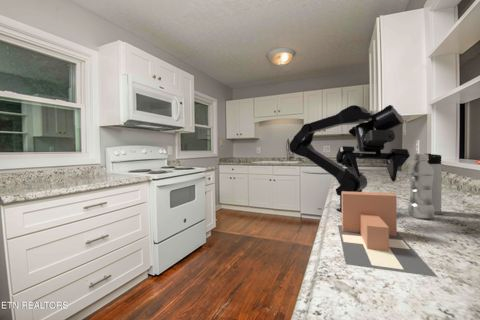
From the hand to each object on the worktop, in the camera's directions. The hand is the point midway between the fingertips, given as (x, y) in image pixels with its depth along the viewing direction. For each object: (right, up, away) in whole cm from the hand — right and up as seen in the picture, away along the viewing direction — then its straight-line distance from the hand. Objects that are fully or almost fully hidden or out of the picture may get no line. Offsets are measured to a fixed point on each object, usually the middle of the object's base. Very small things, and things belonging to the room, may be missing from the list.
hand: (376, 179), depth 63 cm
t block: (-7, -13, -9) cm, 17 cm away
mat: (-8, -14, -12) cm, 20 cm away
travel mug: (+26, -13, +13) cm, 32 cm away
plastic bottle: (+18, -13, +7) cm, 23 cm away
